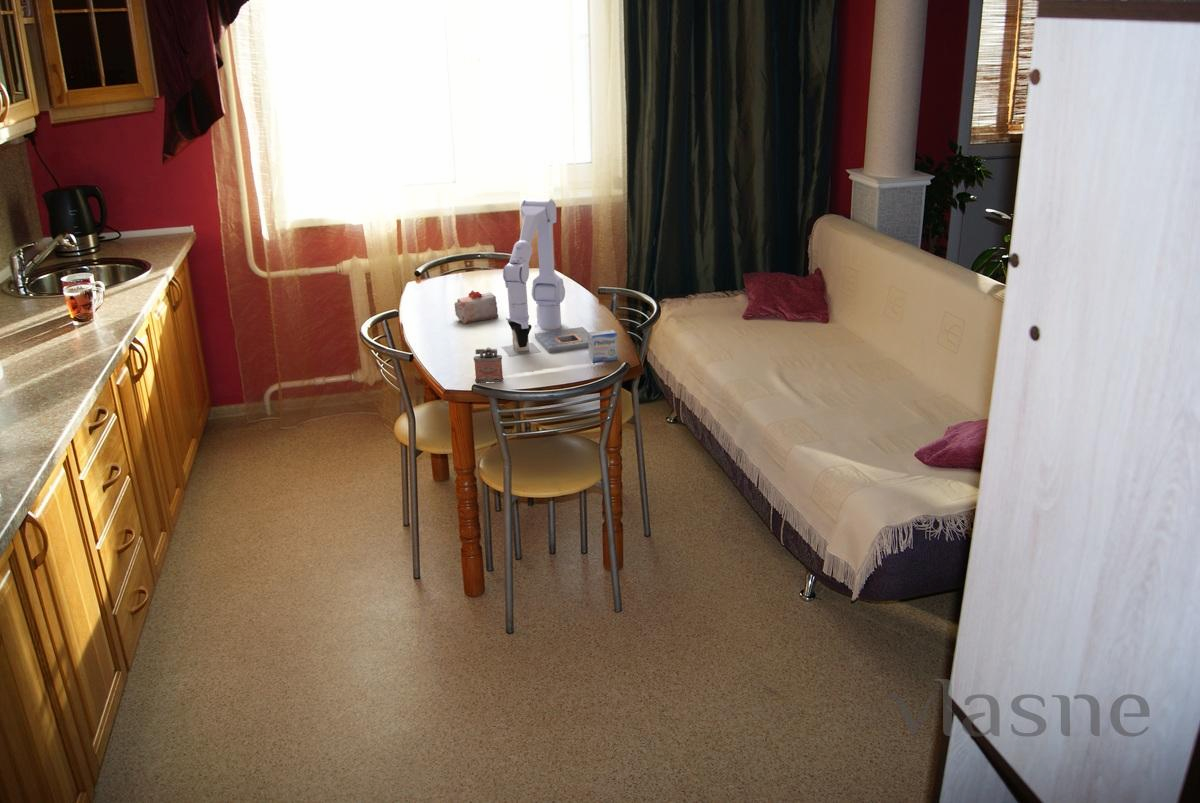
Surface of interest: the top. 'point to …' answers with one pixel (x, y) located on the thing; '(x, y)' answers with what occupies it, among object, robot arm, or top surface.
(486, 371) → the lighter
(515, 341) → the peg
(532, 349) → the gray square plate
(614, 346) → the medicine box
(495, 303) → the food item
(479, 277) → the top surface
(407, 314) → the top surface
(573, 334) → the hole plate
